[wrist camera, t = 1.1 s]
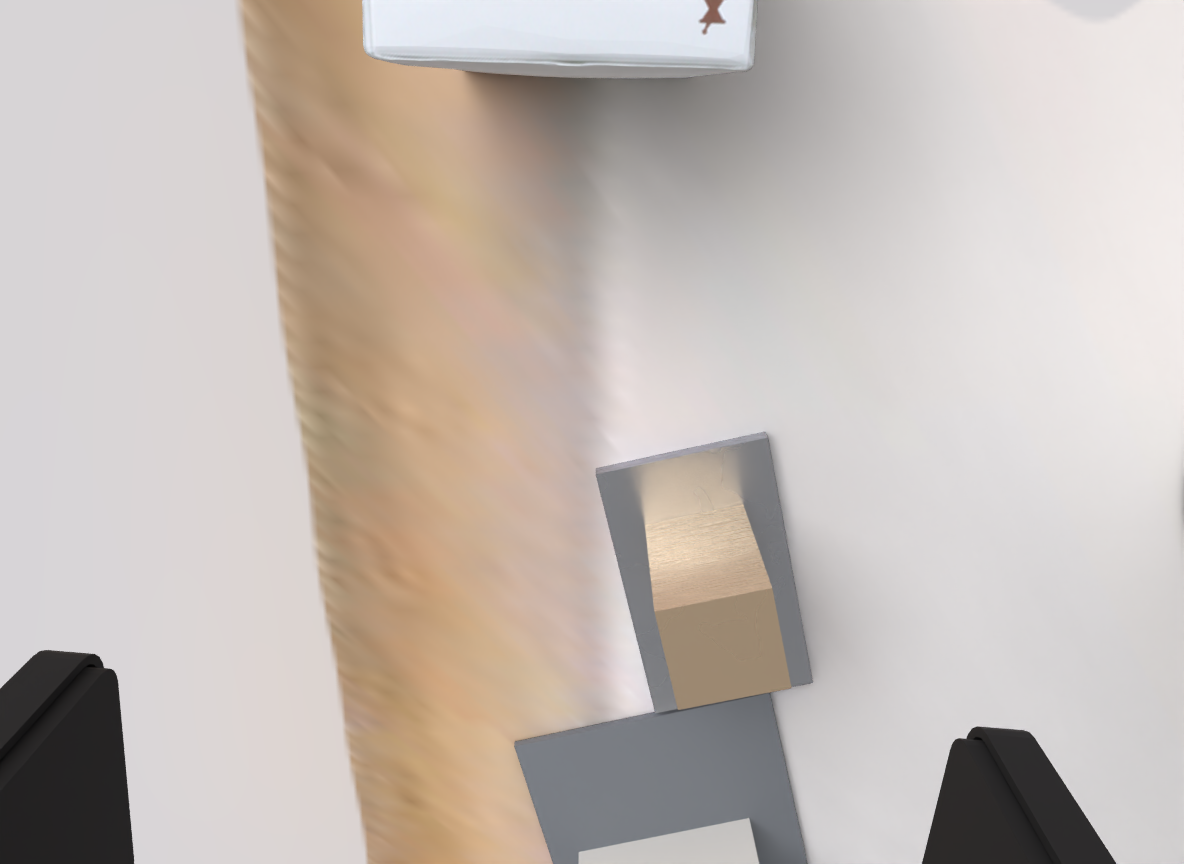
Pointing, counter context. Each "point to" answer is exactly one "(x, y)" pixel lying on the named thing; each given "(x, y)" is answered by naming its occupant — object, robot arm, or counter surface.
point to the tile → (684, 847)
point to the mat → (664, 779)
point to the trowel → (707, 572)
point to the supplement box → (565, 36)
